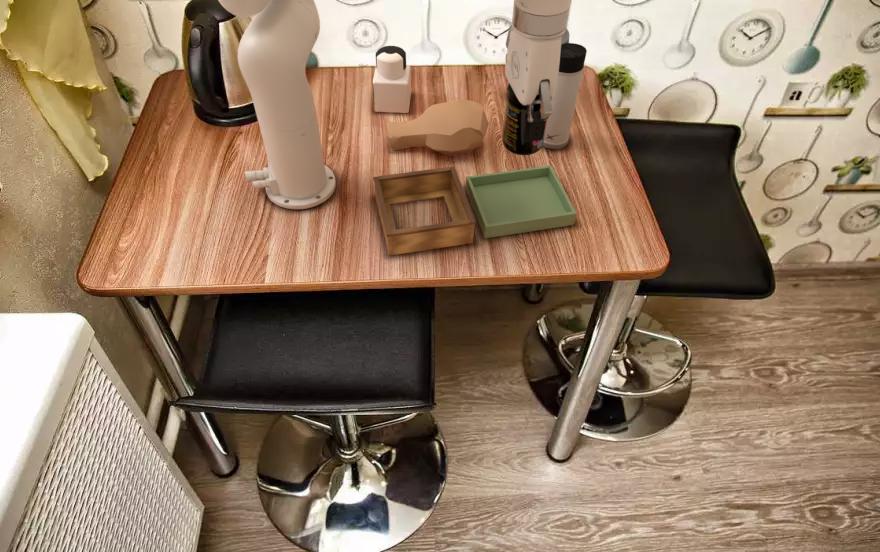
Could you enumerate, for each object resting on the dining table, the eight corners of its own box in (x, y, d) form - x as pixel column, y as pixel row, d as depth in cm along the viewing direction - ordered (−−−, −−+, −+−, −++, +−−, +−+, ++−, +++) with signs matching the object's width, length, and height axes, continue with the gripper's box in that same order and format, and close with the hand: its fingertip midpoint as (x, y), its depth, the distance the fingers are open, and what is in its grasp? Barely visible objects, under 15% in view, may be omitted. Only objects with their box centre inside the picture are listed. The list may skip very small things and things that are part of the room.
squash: (492, 160, 120) (491, 127, 113) (390, 172, 122) (382, 141, 114) (486, 119, 126) (485, 85, 118) (389, 132, 127) (381, 99, 119)
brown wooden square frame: (388, 256, 103) (386, 235, 99) (374, 198, 112) (373, 176, 109) (473, 243, 105) (475, 222, 102) (453, 187, 115) (454, 165, 111)
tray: (484, 238, 106) (485, 226, 104) (465, 188, 115) (466, 176, 113) (574, 225, 109) (576, 213, 107) (549, 176, 117) (551, 165, 115)
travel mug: (551, 154, 122) (569, 60, 106) (530, 137, 125) (544, 43, 110) (575, 144, 124) (596, 50, 109) (554, 127, 127) (571, 34, 112)
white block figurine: (378, 93, 134) (374, 40, 125) (411, 94, 134) (410, 42, 125) (374, 112, 130) (370, 59, 121) (408, 113, 130) (407, 61, 121)
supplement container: (528, 162, 98) (537, 105, 90) (493, 146, 101) (499, 89, 93) (550, 142, 102) (561, 85, 94) (516, 126, 104) (523, 70, 96)
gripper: (496, -10, 90) (487, 98, 103) (533, 51, 79) (518, 163, 92) (545, -15, 91) (530, 93, 105) (589, 45, 80) (566, 156, 93)
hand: (525, 125), depth 98 cm, fingers closed on supplement container, 6 cm apart
